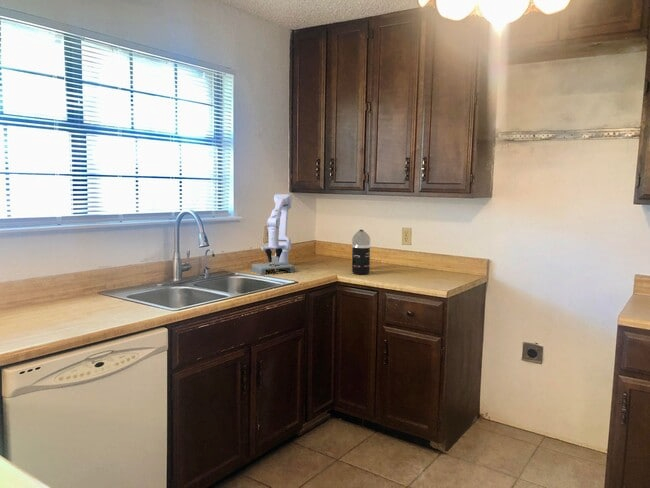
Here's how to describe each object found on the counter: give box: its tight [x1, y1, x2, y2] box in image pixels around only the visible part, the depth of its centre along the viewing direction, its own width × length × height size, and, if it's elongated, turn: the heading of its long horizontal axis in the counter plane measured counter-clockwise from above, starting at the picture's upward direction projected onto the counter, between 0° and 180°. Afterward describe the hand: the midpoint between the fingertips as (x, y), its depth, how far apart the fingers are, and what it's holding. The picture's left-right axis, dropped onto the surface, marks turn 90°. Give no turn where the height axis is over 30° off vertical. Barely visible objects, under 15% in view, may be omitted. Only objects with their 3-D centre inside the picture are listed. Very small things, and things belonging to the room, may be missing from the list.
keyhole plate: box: [251, 262, 296, 276], centre depth 303 cm, size 16×20×4 cm
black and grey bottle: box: [351, 229, 371, 276], centre depth 296 cm, size 10×10×25 cm
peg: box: [268, 255, 278, 267], centre depth 302 cm, size 4×4×7 cm
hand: (273, 262), depth 302 cm, fingers closed on peg, 4 cm apart
